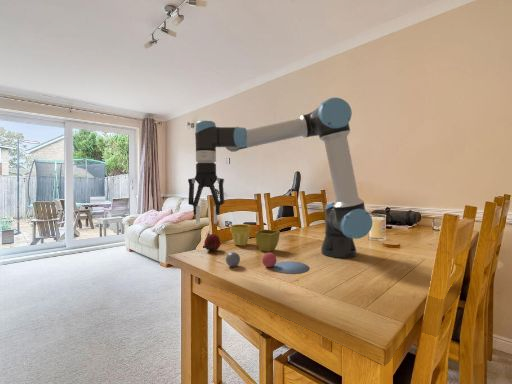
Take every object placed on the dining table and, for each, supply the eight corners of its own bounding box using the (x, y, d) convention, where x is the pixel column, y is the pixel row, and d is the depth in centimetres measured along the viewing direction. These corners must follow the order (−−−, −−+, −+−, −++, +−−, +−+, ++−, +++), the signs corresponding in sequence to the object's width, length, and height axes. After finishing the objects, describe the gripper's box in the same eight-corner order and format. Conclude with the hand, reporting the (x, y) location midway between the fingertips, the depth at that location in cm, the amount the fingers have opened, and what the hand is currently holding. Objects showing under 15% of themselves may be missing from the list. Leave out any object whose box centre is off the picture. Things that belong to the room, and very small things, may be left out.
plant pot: (232, 241, 143) (232, 223, 143) (251, 242, 142) (251, 224, 142) (228, 246, 133) (228, 227, 133) (249, 247, 132) (249, 227, 131)
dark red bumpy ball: (223, 249, 128) (222, 232, 128) (216, 253, 121) (216, 236, 120) (208, 248, 130) (208, 232, 130) (201, 252, 123) (201, 235, 122)
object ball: (276, 264, 104) (276, 250, 104) (276, 269, 99) (276, 254, 99) (262, 264, 105) (262, 250, 104) (261, 269, 99) (261, 254, 99)
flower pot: (280, 249, 127) (280, 230, 127) (271, 253, 120) (271, 234, 119) (264, 247, 132) (264, 229, 131) (254, 251, 124) (254, 232, 124)
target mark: (306, 261, 108) (306, 261, 108) (311, 274, 94) (311, 273, 94) (271, 261, 109) (271, 260, 109) (271, 273, 95) (271, 272, 95)
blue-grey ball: (240, 264, 105) (240, 250, 105) (239, 268, 100) (239, 254, 99) (227, 264, 105) (227, 250, 105) (224, 268, 100) (224, 254, 100)
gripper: (178, 162, 98) (179, 224, 99) (229, 161, 97) (229, 224, 98) (184, 163, 106) (185, 221, 107) (232, 163, 105) (232, 221, 106)
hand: (206, 222), depth 102 cm, fingers open, 6 cm apart
